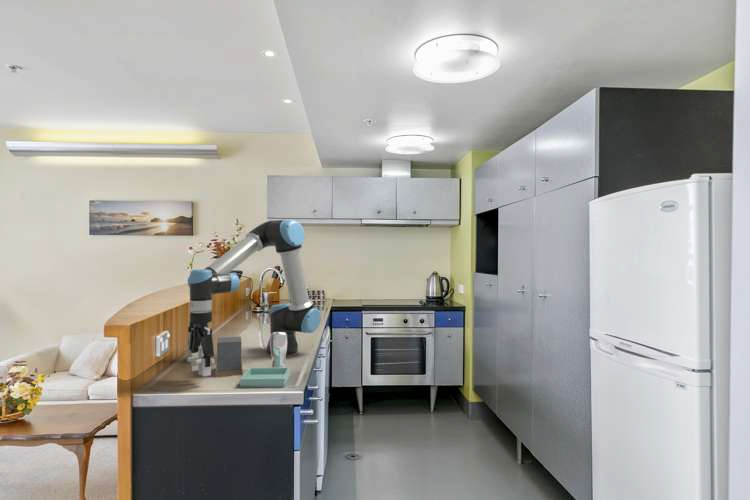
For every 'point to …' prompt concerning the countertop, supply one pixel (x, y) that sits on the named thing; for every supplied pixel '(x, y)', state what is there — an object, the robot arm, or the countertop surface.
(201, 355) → the pipe connector
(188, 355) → the travel mug
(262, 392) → the countertop surface
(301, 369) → the countertop surface
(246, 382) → the tray
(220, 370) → the mounted unit
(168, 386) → the countertop surface
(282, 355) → the beer glass
